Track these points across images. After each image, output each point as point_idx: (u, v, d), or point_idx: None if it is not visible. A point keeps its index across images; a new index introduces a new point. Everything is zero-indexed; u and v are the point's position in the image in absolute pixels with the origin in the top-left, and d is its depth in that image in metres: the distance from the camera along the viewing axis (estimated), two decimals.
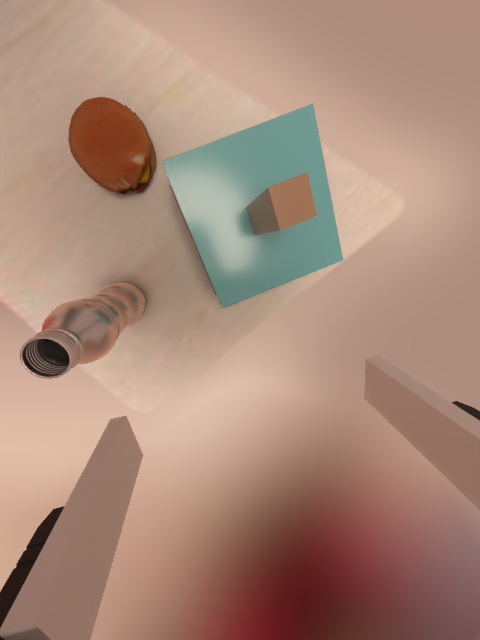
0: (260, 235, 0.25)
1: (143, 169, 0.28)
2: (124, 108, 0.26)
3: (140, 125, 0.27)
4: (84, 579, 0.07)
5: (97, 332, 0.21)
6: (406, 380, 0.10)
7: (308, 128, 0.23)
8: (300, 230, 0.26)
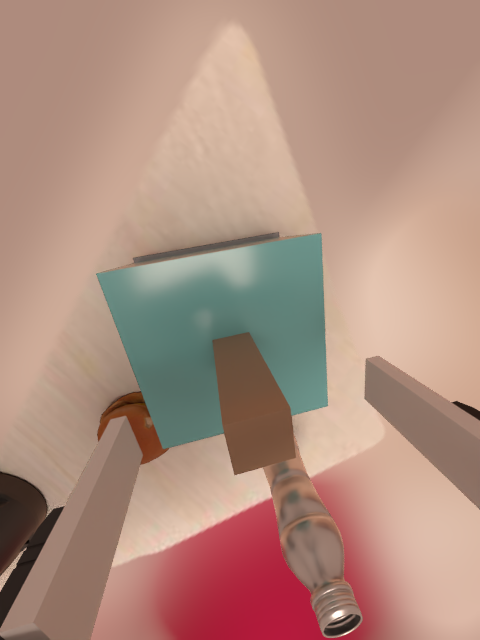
0: None
1: None
2: (105, 423, 0.28)
3: (119, 413, 0.28)
4: (84, 579, 0.07)
5: (322, 552, 0.21)
6: (406, 380, 0.10)
7: (128, 282, 0.15)
8: (261, 302, 0.17)
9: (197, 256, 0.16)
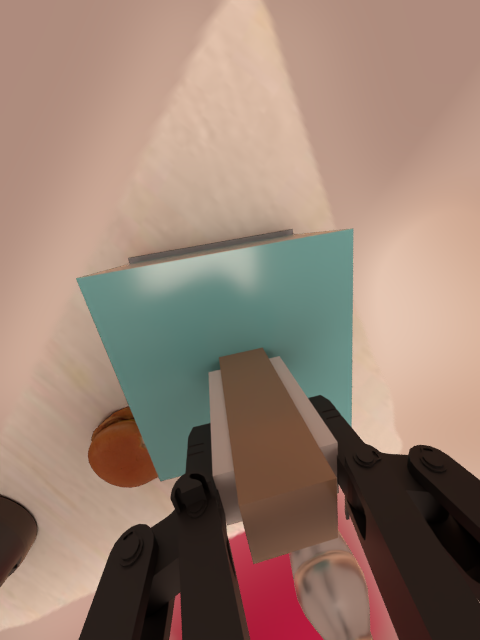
0: None
1: None
2: (96, 442, 0.25)
3: (112, 431, 0.25)
4: None
5: (345, 602, 0.18)
6: (285, 377, 0.12)
7: (117, 289, 0.13)
8: (278, 312, 0.14)
9: (201, 257, 0.13)
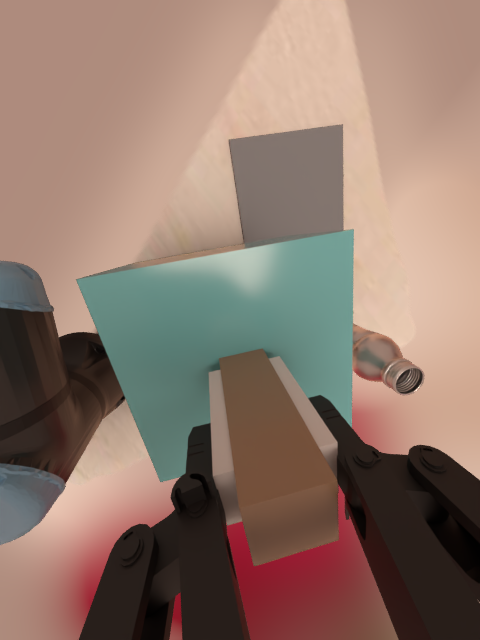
0: None
1: None
2: None
3: None
4: None
5: (388, 347, 0.27)
6: (285, 377, 0.12)
7: (117, 290, 0.13)
8: (278, 313, 0.14)
9: (201, 258, 0.13)
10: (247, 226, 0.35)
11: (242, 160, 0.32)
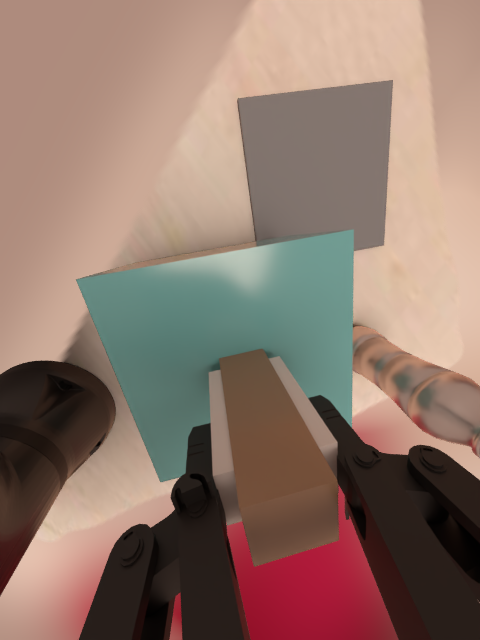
0: None
1: None
2: None
3: None
4: None
5: (477, 397, 0.18)
6: (285, 377, 0.12)
7: (116, 290, 0.13)
8: (278, 313, 0.14)
9: (201, 258, 0.13)
10: (261, 220, 0.27)
11: (255, 129, 0.24)
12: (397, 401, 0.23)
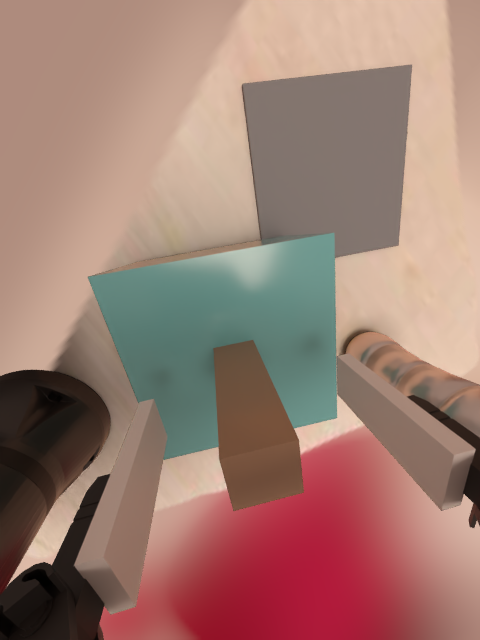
0: None
1: None
2: None
3: None
4: (133, 532, 0.08)
5: None
6: (369, 375, 0.11)
7: (123, 286, 0.14)
8: (267, 308, 0.16)
9: (197, 258, 0.14)
10: (267, 218, 0.24)
11: (261, 118, 0.21)
12: None
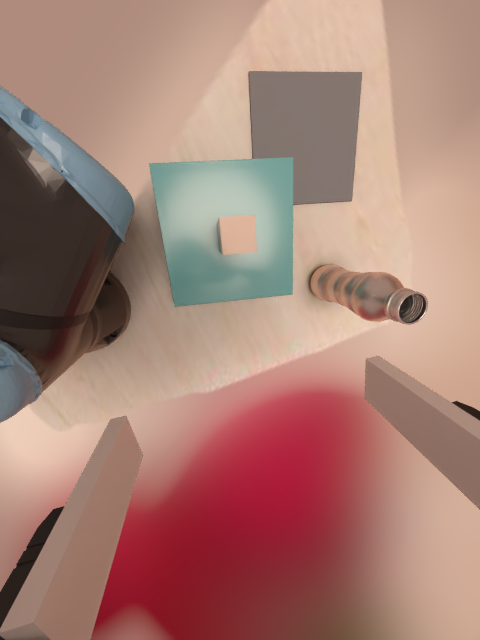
0: None
1: None
2: None
3: None
4: (84, 579, 0.07)
5: (392, 280, 0.27)
6: (406, 380, 0.10)
7: (167, 173, 0.25)
8: (250, 202, 0.27)
9: (212, 161, 0.25)
10: None
11: (260, 95, 0.32)
12: (345, 300, 0.31)
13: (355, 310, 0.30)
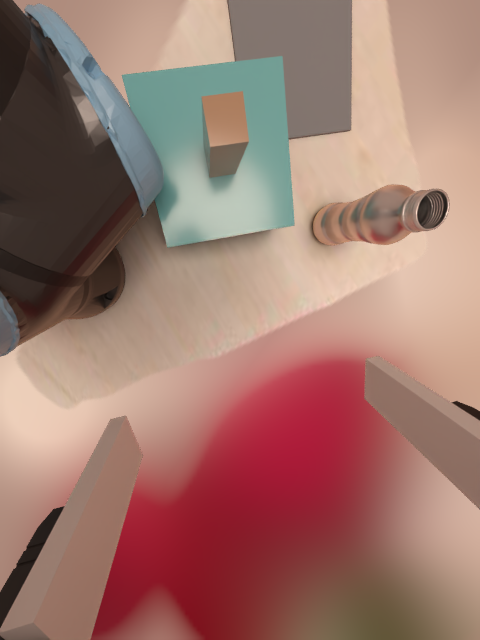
0: None
1: None
2: None
3: None
4: (84, 579, 0.07)
5: (406, 188, 0.24)
6: (406, 380, 0.10)
7: (143, 85, 0.22)
8: None
9: (192, 67, 0.22)
10: None
11: (240, 11, 0.29)
12: (353, 226, 0.29)
13: (365, 233, 0.27)
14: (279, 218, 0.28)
